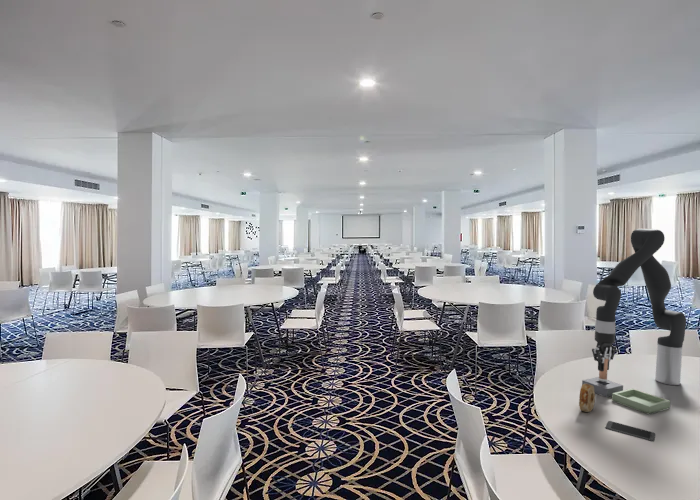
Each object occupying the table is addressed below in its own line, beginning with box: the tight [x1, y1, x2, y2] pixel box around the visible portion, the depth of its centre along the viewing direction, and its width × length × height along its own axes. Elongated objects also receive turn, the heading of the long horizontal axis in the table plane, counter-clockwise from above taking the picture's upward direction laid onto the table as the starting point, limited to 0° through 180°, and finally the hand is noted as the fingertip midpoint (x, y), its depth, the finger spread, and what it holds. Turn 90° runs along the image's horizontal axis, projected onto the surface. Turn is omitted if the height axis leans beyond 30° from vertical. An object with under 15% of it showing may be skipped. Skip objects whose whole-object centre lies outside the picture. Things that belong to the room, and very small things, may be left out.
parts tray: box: [611, 388, 671, 415], centre depth 167 cm, size 14×14×3 cm
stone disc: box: [578, 384, 596, 413], centre depth 160 cm, size 10×4×10 cm, turn 134°
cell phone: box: [604, 420, 656, 442], centre depth 144 cm, size 7×14×1 cm, turn 50°
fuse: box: [598, 354, 608, 382], centre depth 181 cm, size 3×3×11 cm
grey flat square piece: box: [581, 376, 624, 398], centre depth 181 cm, size 11×11×4 cm
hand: (603, 370), depth 181 cm, fingers closed on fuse, 3 cm apart
